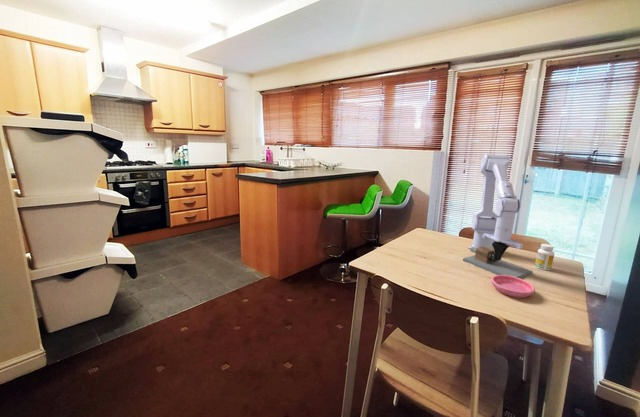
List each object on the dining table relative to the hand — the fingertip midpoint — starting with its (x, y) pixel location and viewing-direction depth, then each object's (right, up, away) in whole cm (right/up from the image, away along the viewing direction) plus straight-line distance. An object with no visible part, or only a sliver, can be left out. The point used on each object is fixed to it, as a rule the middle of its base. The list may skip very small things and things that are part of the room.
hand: (498, 260), depth 116 cm
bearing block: (-3, -2, +5) cm, 6 cm away
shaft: (-3, 0, +6) cm, 6 cm away
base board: (0, -3, +1) cm, 3 cm away
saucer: (-7, -8, -18) cm, 21 cm away
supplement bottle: (+19, -4, +1) cm, 19 cm away
